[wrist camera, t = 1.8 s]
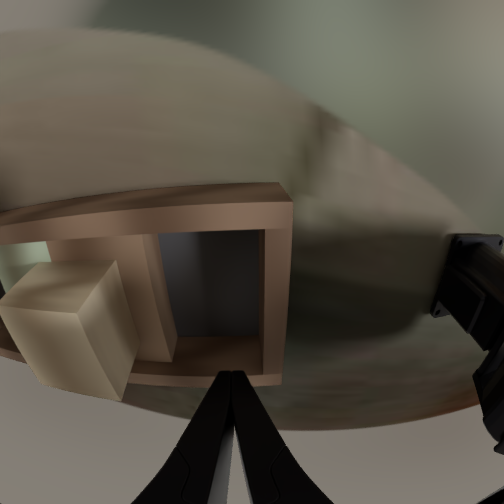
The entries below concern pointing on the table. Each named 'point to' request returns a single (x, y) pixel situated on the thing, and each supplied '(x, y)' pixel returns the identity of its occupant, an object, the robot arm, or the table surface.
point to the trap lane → (175, 273)
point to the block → (74, 326)
